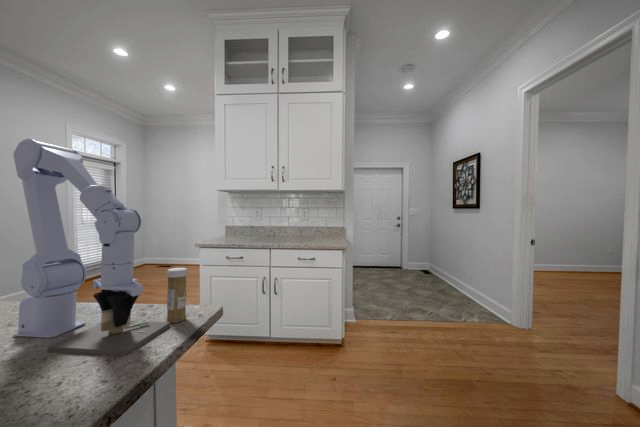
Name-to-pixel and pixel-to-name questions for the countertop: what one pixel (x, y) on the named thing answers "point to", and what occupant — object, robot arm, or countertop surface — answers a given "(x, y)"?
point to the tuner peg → (108, 323)
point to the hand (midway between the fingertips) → (116, 324)
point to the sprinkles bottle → (176, 295)
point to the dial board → (109, 340)
